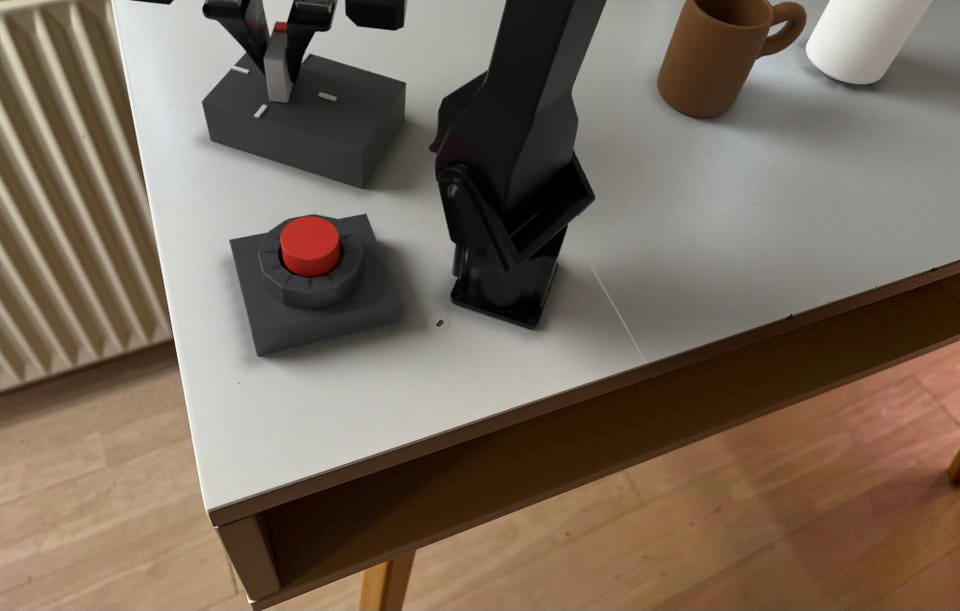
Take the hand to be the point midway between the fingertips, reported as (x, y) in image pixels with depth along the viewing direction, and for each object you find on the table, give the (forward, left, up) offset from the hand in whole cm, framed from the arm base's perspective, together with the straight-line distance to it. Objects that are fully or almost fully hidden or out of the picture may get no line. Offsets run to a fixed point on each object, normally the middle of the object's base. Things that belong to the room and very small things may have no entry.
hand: (283, 78), depth 58 cm
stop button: (-9, +15, 0) cm, 18 cm away
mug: (-34, -21, -5) cm, 40 cm away
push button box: (-10, +15, -4) cm, 18 cm away
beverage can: (-46, -32, -5) cm, 56 cm away
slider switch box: (-2, 0, -4) cm, 5 cm away
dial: (0, 0, 0) cm, 0 cm away
